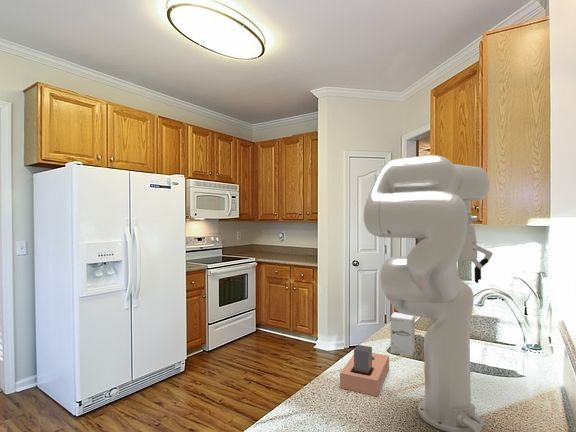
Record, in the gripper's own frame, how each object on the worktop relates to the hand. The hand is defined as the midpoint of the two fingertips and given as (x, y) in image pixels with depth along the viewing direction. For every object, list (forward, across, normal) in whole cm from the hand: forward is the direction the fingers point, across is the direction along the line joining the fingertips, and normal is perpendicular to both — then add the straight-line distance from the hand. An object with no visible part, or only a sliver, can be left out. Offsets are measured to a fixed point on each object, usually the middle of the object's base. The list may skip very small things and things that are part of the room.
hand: (457, 280), depth 92 cm
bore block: (+28, +24, +8) cm, 38 cm away
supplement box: (+29, +17, -17) cm, 37 cm away
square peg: (+28, +24, +13) cm, 39 cm away
